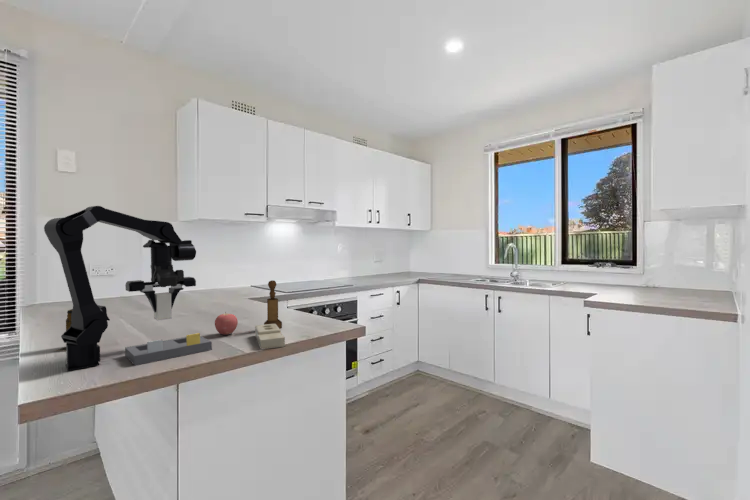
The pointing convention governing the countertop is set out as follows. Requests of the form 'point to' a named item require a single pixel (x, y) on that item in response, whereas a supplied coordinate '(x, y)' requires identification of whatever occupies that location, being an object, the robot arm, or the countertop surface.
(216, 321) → the apple
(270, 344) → the electrical outlet
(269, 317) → the wooden pepper mill
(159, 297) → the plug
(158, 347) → the socket plate
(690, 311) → the countertop surface
